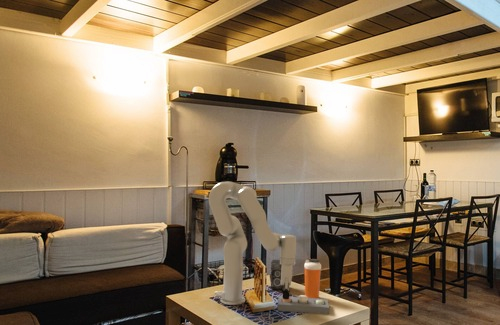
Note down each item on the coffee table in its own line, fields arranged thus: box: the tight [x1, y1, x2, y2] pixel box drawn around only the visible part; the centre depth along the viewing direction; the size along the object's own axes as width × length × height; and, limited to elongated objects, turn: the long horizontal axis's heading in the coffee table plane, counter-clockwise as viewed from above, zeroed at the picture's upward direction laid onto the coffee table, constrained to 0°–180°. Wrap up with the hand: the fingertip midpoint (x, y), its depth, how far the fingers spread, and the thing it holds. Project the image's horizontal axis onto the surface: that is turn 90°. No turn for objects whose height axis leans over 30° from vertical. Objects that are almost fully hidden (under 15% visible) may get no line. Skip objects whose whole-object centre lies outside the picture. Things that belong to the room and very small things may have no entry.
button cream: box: [298, 294, 307, 304], centre depth 198 cm, size 4×4×3 cm
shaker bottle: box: [303, 257, 322, 299], centre depth 214 cm, size 9×9×20 cm
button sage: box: [316, 300, 324, 305], centre depth 197 cm, size 4×4×3 cm
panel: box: [277, 295, 330, 315], centre depth 198 cm, size 24×12×3 cm, turn 84°
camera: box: [269, 259, 284, 291], centre depth 227 cm, size 10×10×15 cm
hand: (285, 298), depth 199 cm, fingers closed
